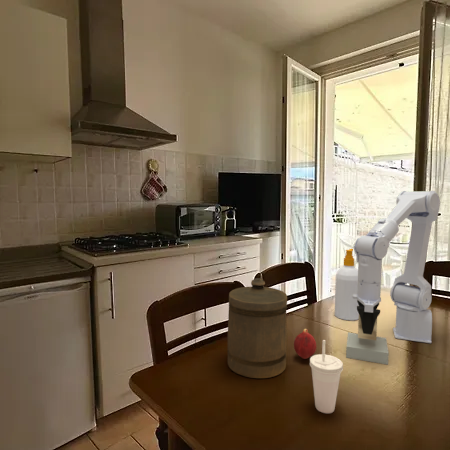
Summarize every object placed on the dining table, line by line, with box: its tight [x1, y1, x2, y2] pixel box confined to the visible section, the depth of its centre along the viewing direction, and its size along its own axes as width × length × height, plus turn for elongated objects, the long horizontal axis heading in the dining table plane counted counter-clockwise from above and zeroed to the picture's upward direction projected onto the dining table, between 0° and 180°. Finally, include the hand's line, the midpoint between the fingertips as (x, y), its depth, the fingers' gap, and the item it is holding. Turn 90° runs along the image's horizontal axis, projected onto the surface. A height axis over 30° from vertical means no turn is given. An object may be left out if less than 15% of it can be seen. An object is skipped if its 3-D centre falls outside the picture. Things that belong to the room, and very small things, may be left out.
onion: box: [293, 328, 318, 360], centre depth 88 cm, size 6×6×8 cm
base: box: [345, 332, 389, 365], centre depth 91 cm, size 10×10×3 cm
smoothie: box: [309, 339, 344, 414], centre depth 67 cm, size 6×6×14 cm
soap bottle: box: [334, 248, 359, 321], centre depth 119 cm, size 9×9×24 cm
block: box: [357, 315, 378, 340], centre depth 91 cm, size 4×4×6 cm
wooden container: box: [227, 277, 288, 379], centre depth 85 cm, size 15×15×22 cm
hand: (367, 330), depth 91 cm, fingers closed on block, 4 cm apart
